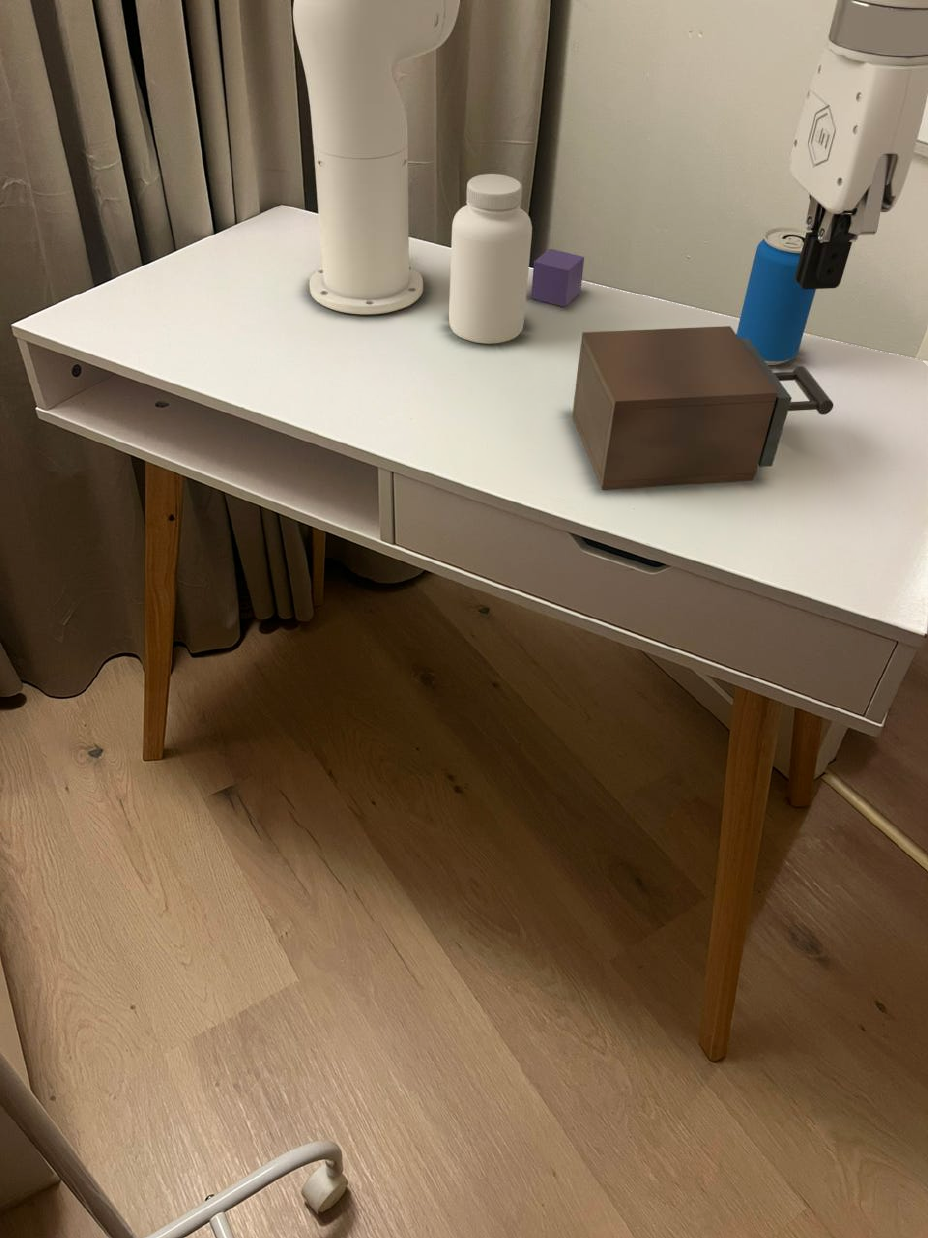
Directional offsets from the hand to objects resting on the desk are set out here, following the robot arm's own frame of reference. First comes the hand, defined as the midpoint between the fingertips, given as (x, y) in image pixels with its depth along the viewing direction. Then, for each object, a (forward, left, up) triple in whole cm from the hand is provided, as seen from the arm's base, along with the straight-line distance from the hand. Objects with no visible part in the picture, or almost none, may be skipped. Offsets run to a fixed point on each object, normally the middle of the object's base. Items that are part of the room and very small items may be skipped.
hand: (816, 283), depth 81 cm
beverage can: (-16, +5, -15) cm, 23 cm away
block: (-31, -14, -15) cm, 37 cm away
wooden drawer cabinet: (0, -11, -15) cm, 18 cm away
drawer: (0, -6, -14) cm, 15 cm away
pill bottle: (-24, -23, -15) cm, 36 cm away
